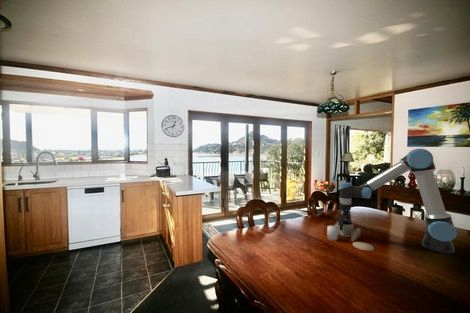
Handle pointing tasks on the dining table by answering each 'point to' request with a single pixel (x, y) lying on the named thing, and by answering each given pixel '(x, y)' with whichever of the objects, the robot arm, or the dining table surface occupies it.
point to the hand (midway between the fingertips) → (344, 232)
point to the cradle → (353, 233)
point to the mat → (363, 246)
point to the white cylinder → (332, 233)
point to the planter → (346, 229)
